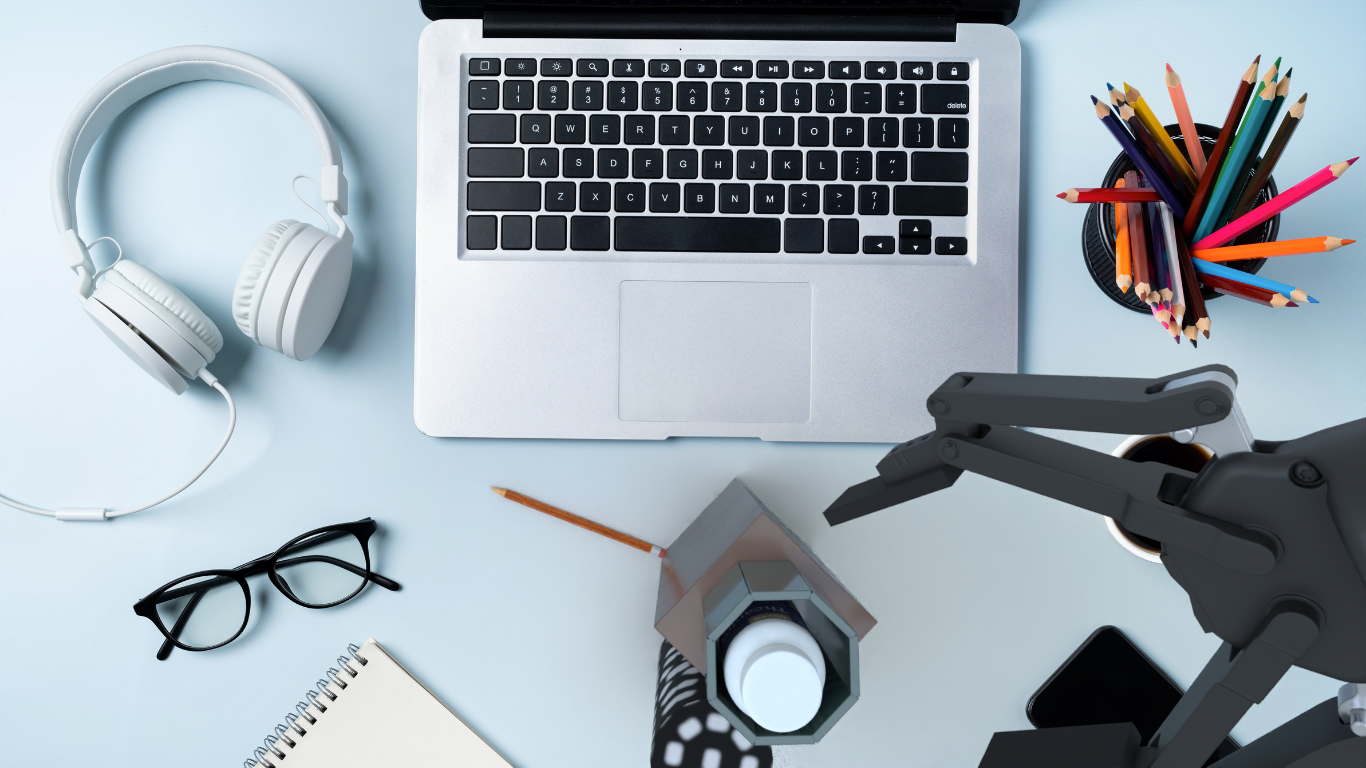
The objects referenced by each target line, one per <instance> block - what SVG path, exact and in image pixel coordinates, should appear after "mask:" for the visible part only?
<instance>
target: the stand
mask: <svg viewBox="0 0 1366 768" xmlns="http://www.w3.org/2000/svg"><path fill="white" fill-rule="evenodd" d="M665 550H666V551H665V553H664V554H663V555H662V558H661V564H660V572H659V580H658V589H657V596H656V605H655V606H656V607H655V613H654V623H653V628H654V629H655V630H656V631H657V632H658V633H659V634H660V635H661V636H662V637H663V638H664V640H665V639H666V640H667V641H668V642H669V643H670V644H671V645H673V646H674V647H675V648H676V649H677V650H678V651H679V652H680V653H681V654H682V655H683V656H684V657H685V658H686V659H687V660H688V661H689V662H690V663H691V664H692V665H693V666H694V667H695V668H696V669H697V670H698V671H699V672H700V673H701V674H702V675H704V676H705V669H704V659H703V637H702V601H703V598H704V597H705V596H706V595H707V594H708V593H709V592H710V591H711V590H712V588H713V587H714V586H715V585H716V584H717V583H718V582H719V581H720V580H721V579H722V578H723V577H724V576H725V575H726V574H727V573H728V572H729V571H730V569H731V568H732V567H733V566H734V565H735V564H736V563H739V562H740V561H779V560H790V562H791V561H792V562H793V563H794V564H795V565H796V566H797V567H798V568H799V569H800V570H802V571H803V572H804V573H805V574H806V575H807V576H808V577H809V578H810V579H811V580H812V581H813V582H814V583H815V584H816V585H817V586H818V587H819V588H820V589H821V590H822V591H823V592H824V593H825V594H827V595H828V597H829V598H830V599H831V600H832V602H833V603H834V604H835V606H836V607H837V608H838V609H839V611H840V612H841V613H842V614H843V616H844V617H845V618H846V620H847V621H848V622H849V623H850V625H851V626H852V627H853V628H854V630H855V631H856V632H857V635H858V642H859V643H860V642H861V641H862V640H863V639H864V638H865V637H866V636H867V635H868V633H870V631H871V630H872V629H873V628H874V627H875V626H876V625H877V624H878V622H879V621H878V620H877V619H876V618H875V616H873V614H871V612H870V611H869V610H868V609H867V608H866V607H865V606H864V604H862V602H860V601H859V600H858V598H857V597H855V595H854V594H853V593H852V592H851V591H850V589H848V588H847V587H846V585H845V584H844V583H843V582H842V581H841V580H840V579H839V578H838V577H837V576H836V574H834V573H833V571H832V570H831V569H830V568H829V567H828V566H827V565H826V564H825V562H823V560H822V559H821V558H820V557H819V556H818V555H817V554H816V553H815V552H814V551H813V550H812V549H811V548H810V547H809V546H808V545H807V544H806V543H805V542H804V541H803V540H802V539H801V538H799V536H798V535H797V534H796V533H794V532H793V531H792V529H790V528H789V527H788V526H787V525H786V524H785V523H784V522H783V520H781V518H779V517H778V516H777V515H776V514H775V513H774V512H773V511H771V509H770V508H768V507H767V506H766V504H764V503H763V502H762V501H761V500H760V499H759V498H758V497H757V496H756V495H755V494H754V493H753V492H752V491H751V490H750V489H749V488H748V487H746V485H744V484H743V482H741V481H740V479H738V478H737V477H734V478H733V480H732V481H730V483H728V484H727V486H726V487H725V488H724V489H723V490H722V491H721V492H720V493H719V494H718V495H717V496H716V497H715V499H713V500H712V501H711V502H710V503H709V505H708V506H707V507H706V508H705V509H704V510H703V511H702V512H701V513H700V514H699V515H698V516H697V517H696V518H695V519H694V520H693V521H692V522H691V523H690V524H689V525H688V527H686V529H684V531H683V532H682V533H681V534H680V535H679V536H678V537H677V538H676V539H675V540H674V541H673V542H672V543H671V544H670V546H668V548H666V549H665Z"/></svg>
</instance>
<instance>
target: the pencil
mask: <svg viewBox="0 0 1366 768" xmlns="http://www.w3.org/2000/svg"><path fill="white" fill-rule="evenodd" d="M488 488H489V489H490V490H492V491H494V492H495V493H496V494H498V495H499V496H501V497H503V498H505V499H507V500H509V501H512V502H515V503H518V504H520V505H524V506H526V507H528V508H531V509H533V510H536V511H538V512H541V513H543V514H547V515H549V516H551V517H554V518H556V519H559V520H562V521H564V522H567V523H570V524H572V525H575V526H577V527H580V528H583V529H585V530H587V531H591V532H593V533H595V534H598V535H601V536H603V537H606V538H609V539H611V540H614V541H617V542H619V543H622V544H625V545H627V546H630V547H632V548H635V549H637V550H640V551H643V552H645V553H647V554H651V555H653V556H656V557H658V558H661V559H662V555H663V554H664V553H665V551H666V550H667V549H664V548H661V547H658V546H656V545H653V544H650V543H648V542H645V541H643V540H640V539H638V538H635V537H633V536H630V535H627V534H625V533H622V532H619V531H617V530H614V529H612V528H610V527H607V526H604V525H601V524H599V523H596V522H593V521H591V520H589V519H585V518H583V517H580V516H577V515H575V514H572V513H570V512H568V511H565V510H562V509H559V508H557V507H554V506H551V505H550V504H546V503H544V502H541V501H538V500H536V499H534V498H530V497H528V496H525V495H523V494H521V493H518V492H515V491H513V490H510V489H507V488H501V487H494V486H488Z"/></svg>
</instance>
